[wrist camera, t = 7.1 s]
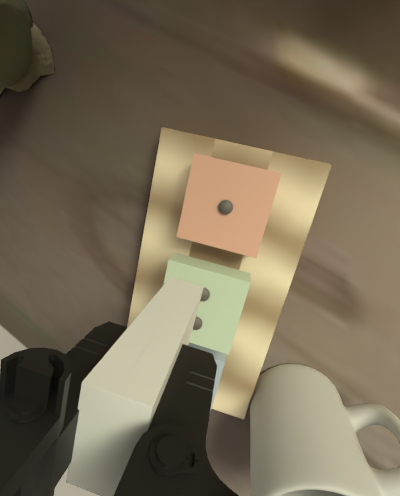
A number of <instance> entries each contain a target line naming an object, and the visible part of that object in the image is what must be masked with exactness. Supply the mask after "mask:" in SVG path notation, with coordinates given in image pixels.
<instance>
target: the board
mask: <svg viewBox="0 0 400 496" xmlns="http://www.w3.org/2000/svg"><path fill="white" fill-rule="evenodd" d="M194 153H195V154H200V155H204V156H209V157H213V158H217V159H222V160H226V161H230V162H235V163H239V164H243V165H248V166H252V167H257V168H261V169H265V170H270V171H274V172H278V173H282V174H281V177H280V181H279V184H278V187H277V191H276V194H275V197H274V201H273V204H272V207H271V211H270V214H269V217H268V221H267V224H266V227H265V231H264V234H263V237H262V241H261V244H260V247H259V251H258V254H257V258H253V257H250V256H246V255H242V254H238V253H235V252H231V251H227V250H223V249H220V248H216V247H212V246H208V245H205V244H201V243H197V242H193V241H190V240H186V239H182V238H179V237H177V232H178V227H179V222H180V218H181V213H182V208H183V203H184V198H185V194H186V189H187V184H188V179H189V174H190V170H191V165H192V160H193V155H194ZM331 166H332V164H328V163H323V162H318V161H314V160H309V159H305V158H300V157H296V156H291V155H287V154H282V153H278V152H273V151H269V150H264V149H260V148H255V147H251V146H246V145H241V144H237V143H232V142H228V141H223V140H219V139H214V138H210V137H205V136H201V135H196V134H192V133H187V132H183V131H178V130H173V129H169V128H164V127H162V129H161V135H160V140H159V146H158V152H157V158H156V164H155V169H154V175H153V181H152V187H151V192H150V198H149V204H148V210H147V216H146V221H145V227H144V233H143V239H142V244H141V250H140V256H139V262H138V268H137V273H136V279H135V285H134V291H133V296H132V302H131V308H130V314H129V320H128V325H127V328H128V327H129V326H130V325H131V323H132V322H133V321H134V320H135V319H136V317H137V316H138V315H139V314H140V313H141V312H142V310H143V309H144V308H145V307H146V306H147V304H148V303H149V302H150V301H151V300H152V299H153V297H154V296H155V295H156V294H157V293H158V291H159V290H160V289H161V288H162V287H163V284H164V279H165V274H166V269H167V264H168V260H169V259H170V258H171V257H172V256H173V255H174V254H175V253H179V254H182V255H186V256H189V257H193V258H197V259H200V260H204V261H208V262H211V263H215V264H219V265H222V266H226V267H230V268H233V269H237V270H240V271H244V272H248V273H251V283H250V286H249V290H248V293H247V296H246V300H245V303H244V306H243V310H242V313H241V316H240V320H239V323H238V326H237V330H236V333H235V336H234V339H233V343H232V346H231V349H230V353H229V355H228V354H226V360H225V365H224V368H223V371H222V375H221V378H220V381H219V385H218V388H217V391H216V395H215V398H214V401H213V405H212V408H211V409H214V410H217V411H220V412H223V413H226V414H229V415H232V416H235V417H238V418H241V419H244V417H245V414H246V412H247V409H248V406H249V403H250V400H251V397H252V394H253V391H254V388H255V386H256V383H257V380H258V377H259V374H260V371H261V368H262V365H263V362H264V359H265V357H266V354H267V351H268V348H269V345H270V342H271V339H272V336H273V333H274V331H275V328H276V325H277V322H278V319H279V316H280V313H281V310H282V307H283V304H284V302H285V299H286V296H287V293H288V290H289V287H290V284H291V281H292V278H293V276H294V273H295V270H296V267H297V264H298V261H299V258H300V255H301V252H302V249H303V247H304V244H305V241H306V238H307V235H308V232H309V229H310V226H311V223H312V221H313V218H314V215H315V212H316V209H317V206H318V203H319V200H320V197H321V194H322V192H323V189H324V186H325V183H326V180H327V177H328V174H329V171H330V168H331Z"/></svg>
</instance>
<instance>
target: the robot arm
mask: <svg viewBox="0 0 400 496" xmlns="http://www.w3.org/2000/svg"><path fill="white" fill-rule="evenodd" d="M203 288H204V287H203V286H199V285H196V284H192V283H189V282H186V281H182V280H179V279H175V278H172V277H170V278H169V280H168V281H167V282H166V283H165V284H164V285H163V287H162V288H161V289H160V290H159V291H158V293H157V294H156V295H155V296H154V297H153V299H152V300H151V301H150V302H149V303H148V304H147V306H146V307H145V308H144V309H143V310H142V312H141V313H140V314H139V315H138V316H137V317H136V319H135V320H134V321H133V322H132V323H131V325H130V326H129V327H128V328H127V327H124V326H121V325H118V324H115V323H112V322H107V323H105V324H102V325H100V326H97V327H95V328H94V329H93V330H92V331H91V332H90V333H88V334H87V335H86V336H85V338H84V339H82V340H81V341H80V342H79V343H78V344H77V345H76V346H75V348H74V347H73V348H72V349H71V350H70V351H69V352H68V353H67V354H66V355H65V354H63V353H61V352H59V351H58V350H54V349H48V348H30V349H26V350H22V351H18V352H15V353H13V354H11V355H9V356H7V357H5V358H3V359H2V360H1V371H0V372H1V373H0V496H53V495H54V488H55V486H56V485H57V483H58V482H59V480H60V479H61V477H62V475H63V474H64V472H65V471H66V469H67V468H68V474H67V480H66V482H67V483H70V484H72V485H75V486H77V487H80V488H82V489H85V490H87V491H90V492H92V493H95V494H98V495H100V496H238V495H237V494H236V493H234V492H233V491H232V490H231V489H229V488H228V487H227V486H226V485H225V484H224V483H223V482H222V481H221V480H220V479H219V478H218V476H217V475H216V473H215V472H214V471H213V469H212V467H211V465H210V463H209V460H208V458H207V453H206V449H205V444H206V433H207V427H208V421H209V415H210V408H211V402H212V396H213V389H214V383H215V377H216V371H217V364H216V362H215V359H214V356H213V354H212V353H209V352H206V351H203V350H200V349H197V348H193V347H190V346H188V344H189V341H190V337H191V333H192V330H193V326H194V322H195V318H196V314H197V311H198V307H199V303H200V299H201V296H202V292H203ZM68 466H69V467H68Z"/></svg>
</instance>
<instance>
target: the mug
mask: <svg viewBox="0 0 400 496" xmlns="http://www.w3.org/2000/svg"><path fill="white" fill-rule="evenodd" d="M370 425H381V426H384V427H386V428H387V429H389V430H390V431H391V432H392V433H393V434H394V435H395V437H396V438H397V439H398V441H399V442H400V420H399V419H398V418H397V417H396V416H395V415H394V414H393V413H392V412H391V411H390V410H388V409H387V408H385V407H384V406H381V405H379V404H374V403H364V404H357V405H352V406H346V407H345V406H344V405H343V403H342V400H341V398H340V395H339V393H338V391H337V389H336V388H335V386H334V385H333V383H332V382H331V381H330V380H329V379H328V378H327V377H326V376H325V375H323V374H322V373H321V372H319V371H317V370H315V369H313V368H311V367H308V366H304V365H299V364H283V365H278V366H275V367H272V368H270V369H268V370H266V371H265V372H263V373H262V374H261V375H260V376H259V377H258V380H257V383H256V386H255V388H254V391H253V394H252V397H251V400H250V483H251V496H400V466H399V467H397V468H393V469H375V468H371V467H370V466H369V465H368V463H367V461H366V459H365V456H364V454H363V452H362V449H361V447H360V444H359V442H358V439H357V431H359V430H360V429H361V428H364V427H366V426H370Z"/></svg>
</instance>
